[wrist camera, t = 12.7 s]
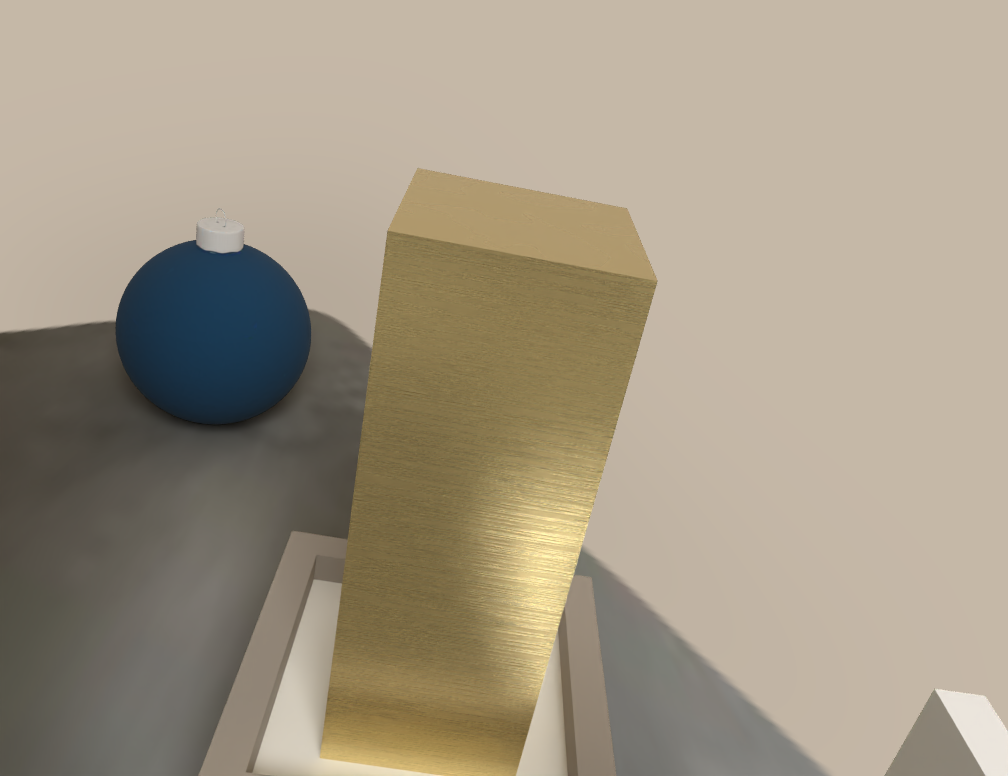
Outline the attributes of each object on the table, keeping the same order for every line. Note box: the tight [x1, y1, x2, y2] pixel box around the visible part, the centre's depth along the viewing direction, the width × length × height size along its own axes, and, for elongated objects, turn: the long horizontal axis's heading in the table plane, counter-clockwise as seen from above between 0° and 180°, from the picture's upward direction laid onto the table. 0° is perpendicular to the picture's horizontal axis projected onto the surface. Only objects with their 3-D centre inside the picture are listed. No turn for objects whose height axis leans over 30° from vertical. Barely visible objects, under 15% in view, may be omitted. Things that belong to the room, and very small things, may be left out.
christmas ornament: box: [116, 209, 311, 424], centre depth 38 cm, size 8×8×10 cm
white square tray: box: [198, 531, 616, 776], centre depth 24 cm, size 10×10×4 cm
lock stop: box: [320, 168, 657, 776], centre depth 21 cm, size 5×5×14 cm
